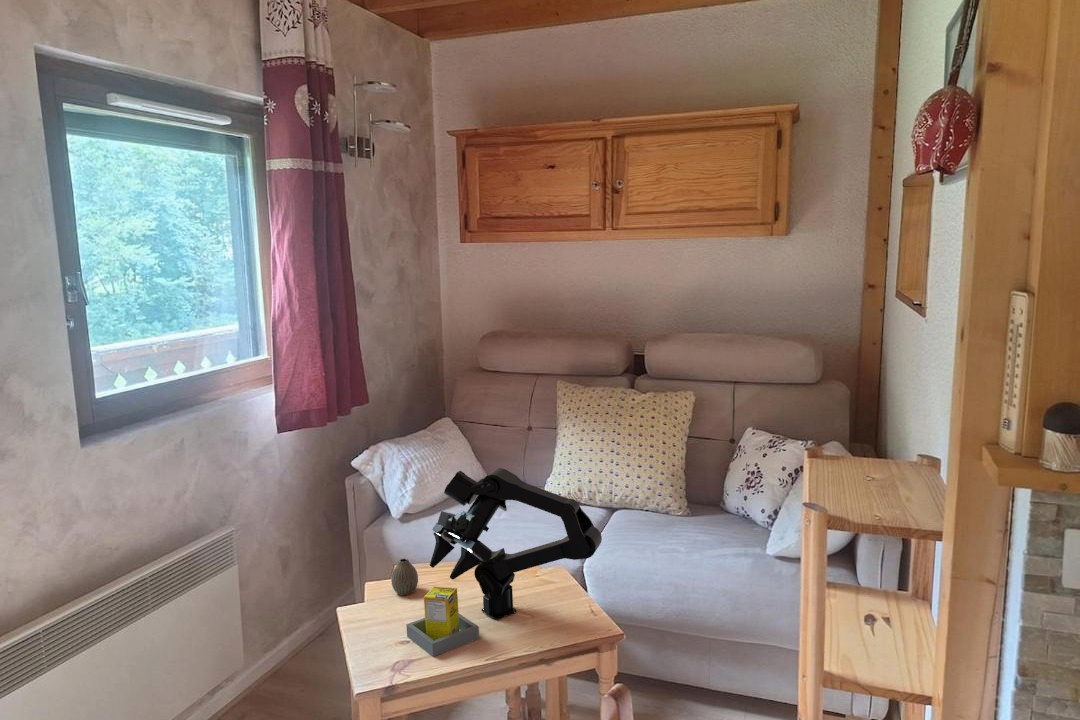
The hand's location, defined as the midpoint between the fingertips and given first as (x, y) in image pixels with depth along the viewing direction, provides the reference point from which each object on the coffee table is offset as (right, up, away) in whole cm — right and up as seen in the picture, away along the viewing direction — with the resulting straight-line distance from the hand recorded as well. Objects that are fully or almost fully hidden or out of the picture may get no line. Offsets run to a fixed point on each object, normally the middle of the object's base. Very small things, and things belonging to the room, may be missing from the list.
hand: (440, 572), depth 173 cm
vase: (-12, -12, +22) cm, 28 cm away
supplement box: (+1, -14, -3) cm, 15 cm away
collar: (+1, -14, -3) cm, 14 cm away
